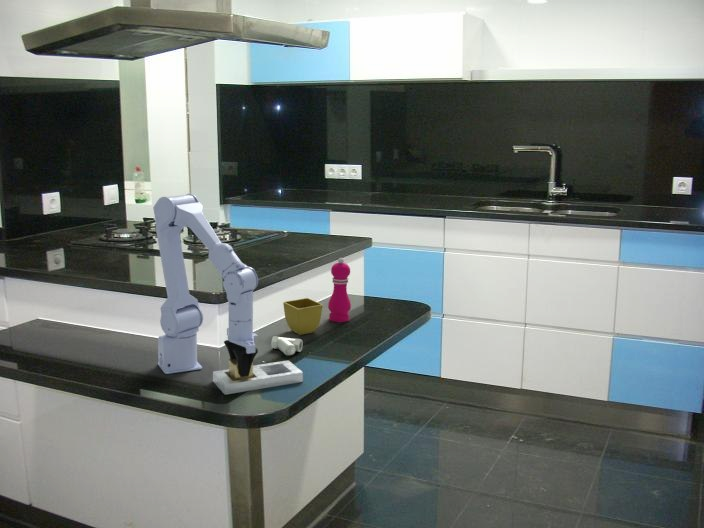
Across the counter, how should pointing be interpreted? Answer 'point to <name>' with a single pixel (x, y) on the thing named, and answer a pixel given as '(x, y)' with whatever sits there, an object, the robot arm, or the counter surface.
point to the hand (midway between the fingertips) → (240, 372)
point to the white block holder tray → (259, 377)
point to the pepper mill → (339, 293)
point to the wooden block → (237, 371)
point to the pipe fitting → (287, 345)
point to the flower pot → (302, 315)
